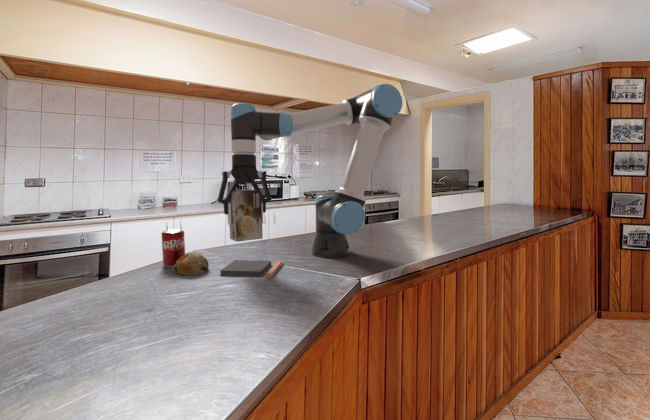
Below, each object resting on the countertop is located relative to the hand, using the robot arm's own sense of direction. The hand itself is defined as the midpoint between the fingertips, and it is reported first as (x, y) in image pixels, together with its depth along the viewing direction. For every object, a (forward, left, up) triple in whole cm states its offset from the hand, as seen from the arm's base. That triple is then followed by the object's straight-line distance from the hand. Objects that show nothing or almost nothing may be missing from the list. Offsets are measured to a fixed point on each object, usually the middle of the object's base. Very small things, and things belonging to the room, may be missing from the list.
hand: (245, 223), depth 115 cm
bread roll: (+17, -6, -16) cm, 24 cm away
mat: (0, 0, -16) cm, 16 cm away
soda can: (+22, -17, -16) cm, 32 cm away
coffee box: (0, 0, -5) cm, 5 cm away
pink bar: (-8, +5, -16) cm, 18 cm away
